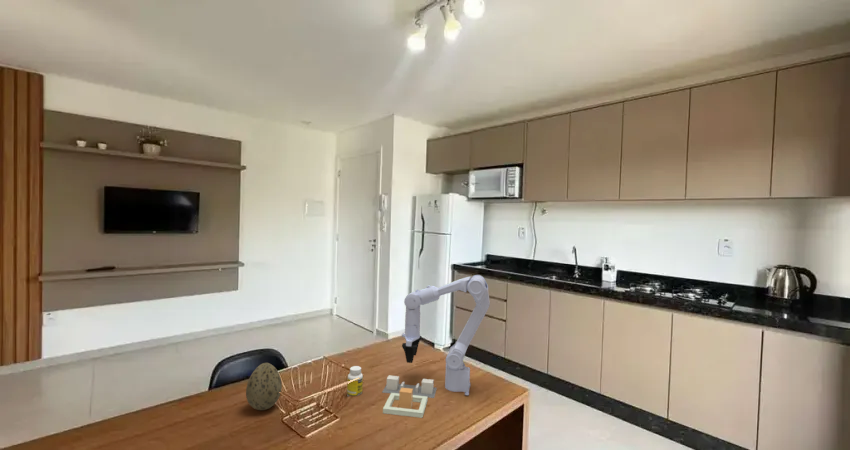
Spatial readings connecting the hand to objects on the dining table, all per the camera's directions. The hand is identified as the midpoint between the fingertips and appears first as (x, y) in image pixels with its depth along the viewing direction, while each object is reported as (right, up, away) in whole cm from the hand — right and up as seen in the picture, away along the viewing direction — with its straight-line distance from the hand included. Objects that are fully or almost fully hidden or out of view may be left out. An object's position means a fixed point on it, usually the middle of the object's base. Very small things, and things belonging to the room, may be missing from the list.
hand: (411, 358), depth 143 cm
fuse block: (0, -10, -7) cm, 12 cm away
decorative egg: (-48, -9, -21) cm, 53 cm away
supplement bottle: (-20, -10, -10) cm, 24 cm away
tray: (-1, -10, -19) cm, 22 cm away
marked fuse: (-1, -10, -19) cm, 21 cm away
